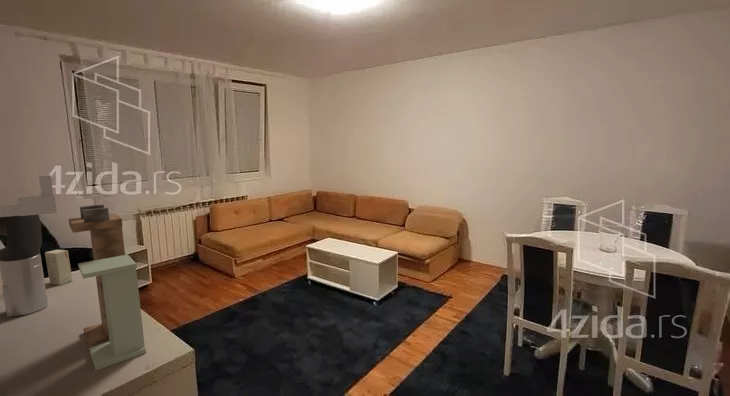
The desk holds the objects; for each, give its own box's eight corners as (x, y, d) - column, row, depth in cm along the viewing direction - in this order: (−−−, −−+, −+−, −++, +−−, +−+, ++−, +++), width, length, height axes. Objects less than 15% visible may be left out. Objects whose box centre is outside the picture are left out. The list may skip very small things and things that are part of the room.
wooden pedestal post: (88, 347, 89) (70, 212, 84) (83, 332, 96) (66, 207, 91) (134, 332, 96) (120, 207, 90) (127, 319, 103) (113, 202, 98)
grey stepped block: (-52, 222, 69) (-59, 180, 68) (-48, 219, 72) (-55, 178, 71) (56, 212, 79) (52, 175, 78) (55, 210, 83) (51, 174, 82)
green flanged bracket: (95, 370, 80) (82, 274, 76) (90, 352, 87) (78, 263, 83) (146, 352, 86) (136, 263, 83) (137, 337, 94) (127, 254, 90)
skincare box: (73, 281, 133) (69, 250, 131) (60, 285, 129) (55, 253, 127) (62, 279, 135) (57, 248, 133) (48, 283, 131) (44, 252, 129)
